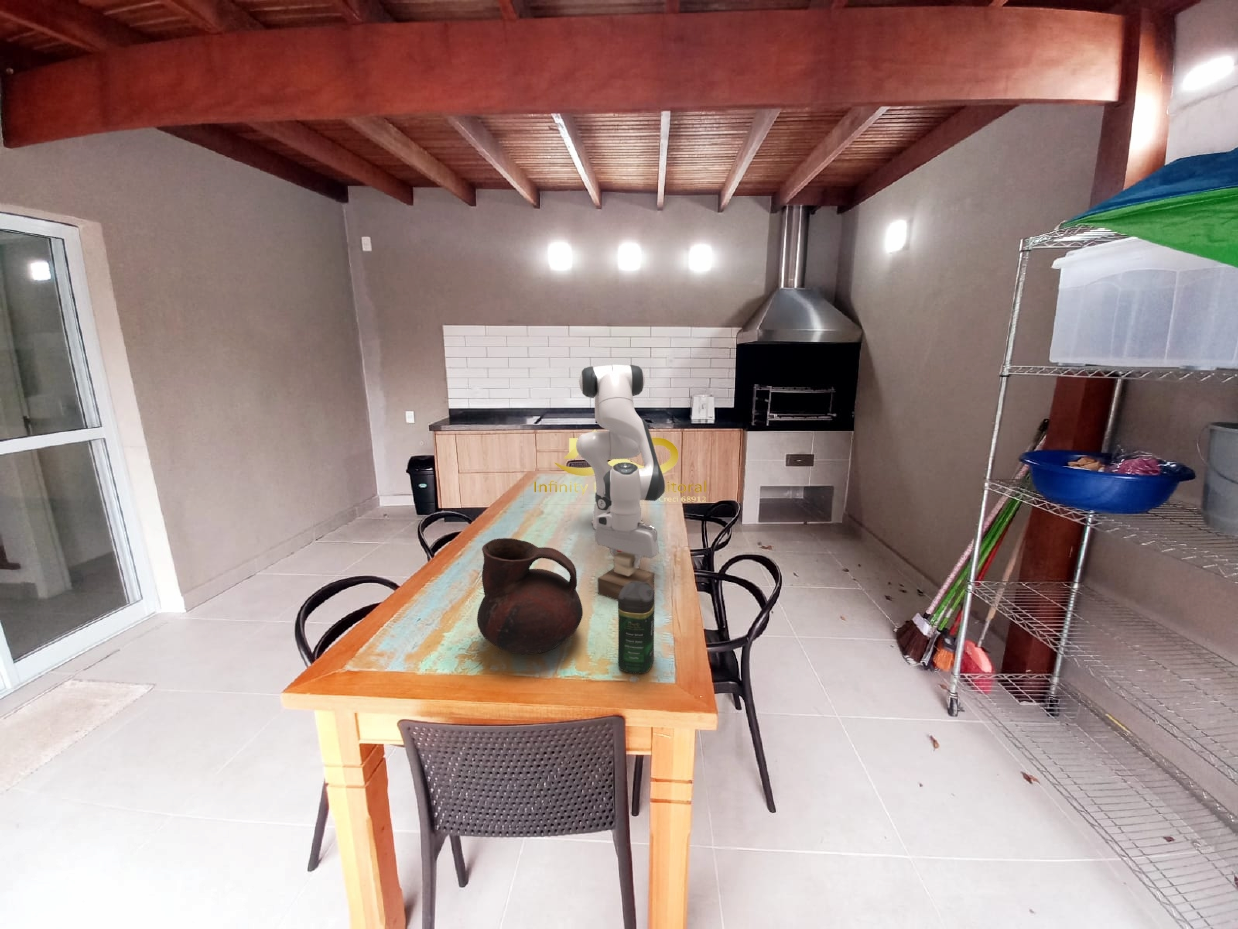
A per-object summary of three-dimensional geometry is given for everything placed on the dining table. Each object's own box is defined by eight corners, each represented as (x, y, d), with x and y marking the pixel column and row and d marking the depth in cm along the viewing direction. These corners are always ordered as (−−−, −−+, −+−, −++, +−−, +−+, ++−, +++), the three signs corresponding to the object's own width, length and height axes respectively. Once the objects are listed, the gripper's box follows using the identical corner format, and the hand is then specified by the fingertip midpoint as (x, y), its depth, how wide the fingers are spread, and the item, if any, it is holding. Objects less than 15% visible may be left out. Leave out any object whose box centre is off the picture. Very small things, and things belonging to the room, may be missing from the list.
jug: (568, 678, 106) (563, 572, 101) (460, 666, 111) (451, 564, 105) (593, 618, 130) (591, 529, 125) (504, 610, 135) (498, 524, 129)
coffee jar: (650, 678, 106) (650, 600, 102) (615, 673, 108) (613, 596, 104) (657, 652, 115) (657, 579, 111) (624, 648, 117) (623, 576, 113)
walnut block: (621, 578, 153) (621, 563, 152) (654, 588, 146) (654, 572, 145) (598, 593, 144) (597, 578, 142) (632, 605, 137) (632, 588, 136)
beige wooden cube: (623, 565, 147) (623, 550, 146) (637, 569, 144) (637, 554, 143) (614, 572, 143) (614, 556, 142) (628, 576, 140) (628, 560, 139)
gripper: (662, 523, 137) (662, 569, 140) (604, 510, 148) (604, 553, 151) (651, 530, 132) (651, 577, 135) (591, 516, 143) (592, 560, 146)
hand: (626, 564), depth 143 cm, fingers closed on beige wooden cube, 5 cm apart
